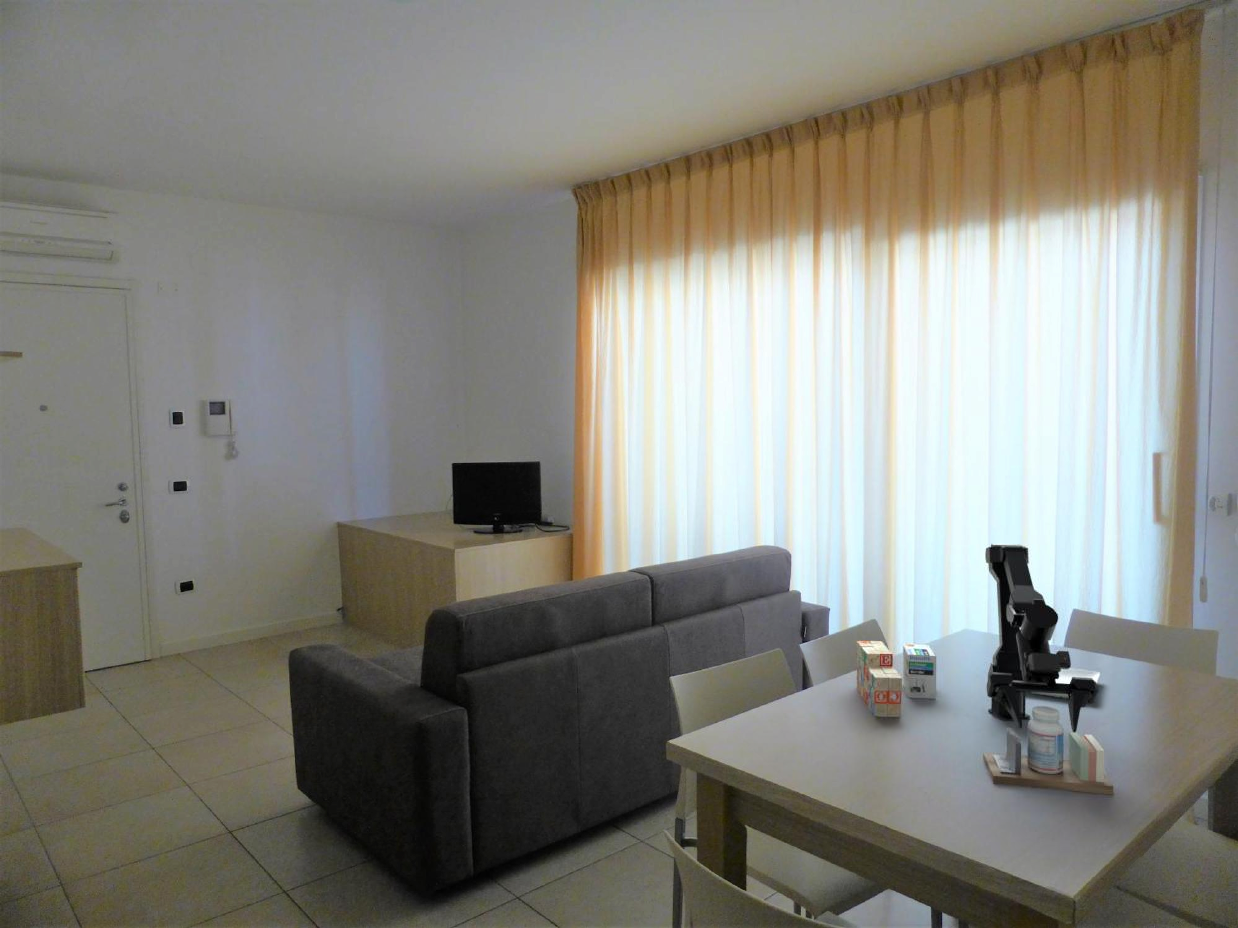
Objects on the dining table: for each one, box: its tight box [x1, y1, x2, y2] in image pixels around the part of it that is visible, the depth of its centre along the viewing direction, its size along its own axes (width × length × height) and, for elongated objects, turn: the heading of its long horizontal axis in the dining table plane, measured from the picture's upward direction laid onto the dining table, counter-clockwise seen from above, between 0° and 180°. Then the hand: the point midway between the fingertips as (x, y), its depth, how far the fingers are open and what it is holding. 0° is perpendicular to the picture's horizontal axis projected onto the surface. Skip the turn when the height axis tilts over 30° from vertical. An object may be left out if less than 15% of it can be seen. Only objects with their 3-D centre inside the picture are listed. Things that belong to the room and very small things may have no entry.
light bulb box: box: [902, 643, 937, 700], centre depth 209 cm, size 11×7×11 cm, turn 168°
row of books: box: [1068, 731, 1106, 782], centre depth 157 cm, size 8×4×6 cm, turn 166°
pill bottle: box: [1026, 705, 1065, 774], centre depth 159 cm, size 6×6×11 cm
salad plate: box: [1026, 667, 1101, 700], centre depth 212 cm, size 21×21×3 cm
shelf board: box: [982, 752, 1114, 795], centre depth 159 cm, size 11×20×2 cm, turn 76°
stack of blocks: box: [856, 640, 903, 718], centre depth 202 cm, size 21×6×12 cm, turn 175°
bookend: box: [993, 727, 1022, 775], centre depth 160 cm, size 8×4×6 cm, turn 166°
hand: (1047, 729), depth 157 cm, fingers open, 9 cm apart
